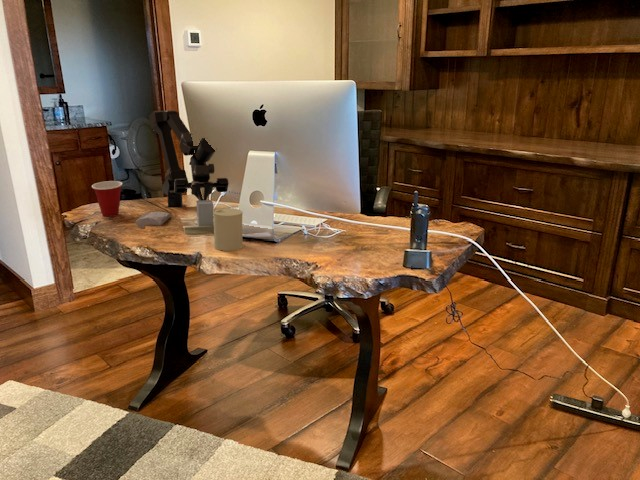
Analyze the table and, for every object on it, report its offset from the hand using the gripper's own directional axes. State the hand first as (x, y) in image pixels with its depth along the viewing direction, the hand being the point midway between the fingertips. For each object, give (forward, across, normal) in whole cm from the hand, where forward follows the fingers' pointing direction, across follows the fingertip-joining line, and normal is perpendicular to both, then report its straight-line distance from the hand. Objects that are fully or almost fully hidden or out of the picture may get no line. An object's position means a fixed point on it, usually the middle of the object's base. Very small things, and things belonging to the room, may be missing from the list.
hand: (203, 205), depth 182 cm
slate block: (+7, 0, +3) cm, 8 cm away
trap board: (+6, 0, +6) cm, 8 cm away
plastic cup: (-12, -33, +23) cm, 42 cm away
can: (+22, +5, -10) cm, 24 cm away
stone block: (0, -18, +12) cm, 22 cm away
